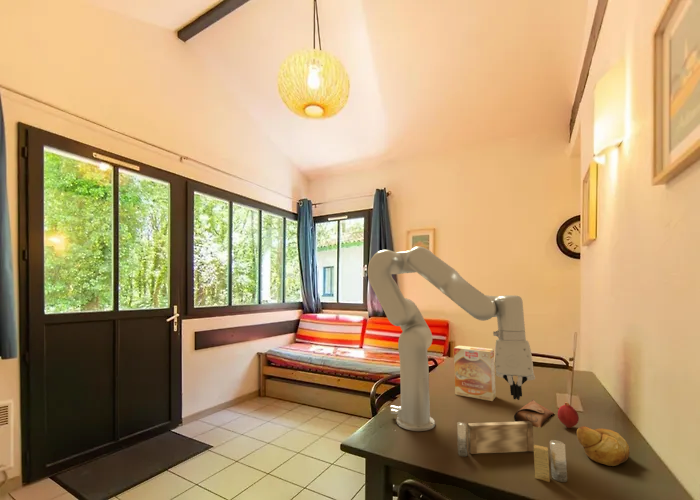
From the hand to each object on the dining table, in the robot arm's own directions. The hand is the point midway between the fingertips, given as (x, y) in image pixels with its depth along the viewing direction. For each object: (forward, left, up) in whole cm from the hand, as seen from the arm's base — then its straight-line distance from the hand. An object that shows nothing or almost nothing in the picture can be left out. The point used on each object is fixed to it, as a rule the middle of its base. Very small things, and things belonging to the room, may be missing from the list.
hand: (516, 398), depth 101 cm
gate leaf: (-4, -10, -12) cm, 16 cm away
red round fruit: (+13, +18, -12) cm, 26 cm away
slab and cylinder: (+8, -17, -12) cm, 23 cm away
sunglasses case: (+4, +23, -13) cm, 27 cm away
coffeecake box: (-19, +36, -13) cm, 43 cm away
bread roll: (+21, +1, -13) cm, 25 cm away
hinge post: (-13, -17, -12) cm, 24 cm away
